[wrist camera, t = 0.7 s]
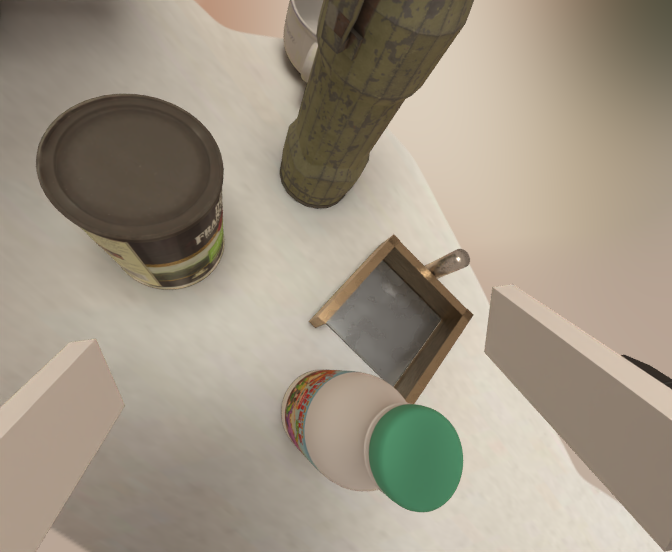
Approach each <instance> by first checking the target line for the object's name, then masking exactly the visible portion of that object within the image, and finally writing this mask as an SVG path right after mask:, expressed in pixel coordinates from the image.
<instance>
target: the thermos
mask: <svg viewBox="0 0 672 552" xmlns="http://www.w3.org/2000/svg"><path fill="white" fill-rule="evenodd" d="M473 2H474V0H323V4H322V7H321V11H320V15H319V19H318V25H317V33H316V37H317V43H318V47H317V51H316V54H315V58H314V61H313V65H312V68H311V72H310V75H309V79H308V82H307V86H306V89H305V93H304V96H303V100H302V103H301V107H300V110H299V114H298V117H297V119H296V120H295V121H294V122H293V123H292V124H291V125H290V126H289V129H288V133H287V137H286V140H285V144H284V148H283V154H282V161H281V167H280V177H281V182H282V184H283V186H284V188H285V189H286V191H287V193H288V194H289V195H290V196H291V197H292V198H293V199H294V200H296V201H297V202H299V203H301V204H303V205H305V206H307V207H312V208H317V209H318V208H328V207H330V206H333V205H335V204H337V203H338V202H339V201H340V200H341V199H342V198H343V197H344V196H345V194H346V193H347V192H348V191H349V190H350V189H351V188H352V186H353V185H354V184H355V182H356V181H357V179H358V178H359V177H360V175H361V173H362V172H363V170H364V168H365V166H366V164H367V162H368V160H369V153H370V151H371V150H372V148H373V147H374V145H375V144H376V142H377V141H378V139H379V138H380V136H381V135H382V133H383V132H384V130H385V129H386V127H387V126H388V124H389V123H390V121H391V120H392V118H393V117H394V115H395V114H396V112H397V111H398V109H399V108H400V106H401V105H402V103H403V102H404V100H405V99H406V98H408V97H410V96H412V95H413V94H414V93H415V92H416V91H417V90H418V89H419V88H420V87H421V86H422V85H423V84H424V82H425V80H426V79H427V78H428V76H429V75H430V74H431V72H432V70H433V69H434V68H435V66H436V65H437V64H438V62H439V60H440V59H441V58H442V56H443V54H444V53H445V52H446V51H447V49H448V48H449V46H450V45H451V43H452V42H453V40H454V39H455V38H456V36H457V35H458V33H459V32H460V30H461V29H462V28H463V26H464V25H465V23H466V20H467V18H468V15H469V13H470V10H471V7H472V4H473Z"/></svg>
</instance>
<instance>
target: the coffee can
mask: <svg viewBox="0 0 672 552" xmlns="http://www.w3.org/2000/svg"><path fill="white" fill-rule="evenodd" d="M36 168H37V174H38V179H39V182H40V185H41V187H42V189H43V191H44V193H45V195H46V196H47V198H48V199H49V200H50V202H51V203H52V204H53V205H54V207H55V208H56V209H57V210H58V211H59V212H61V213H62V214H63V215H64V216H65V217H66V218H68V219H69V220H70V221H72V222H73V223H75V224H76V225H78V226H79V227H80V228H81V229H82V230H84V231H85V232H86V233H87V234H88V235H89V236H90V238H92V239H93V240H94V241H95V242H96V243H97V244H98V245H99V246H100V247H101V248H103V249H104V250H105V251H106V252H107V253H108V254H109V255H110V256H111V257H112V258H113V259H114V260H115V261H116V262H117V263H118V264H119V265H120V266H121V267H122V269H123V270H124V271H125V272H126V273H127V274H128V275H129V276H130V277H132V278H133V279H135V280H136V281H138V282H140V283H142V284H144V285H147V286H150V287H154V288H158V289H179V288H184V287H187V286H190V285H193V284H195V283H197V282H199V281H201V280H203V279H204V278H205V277H207V276H208V275H209V274H210V273H211V272H212V271H213V270H214V269H215V267H216V266H217V265H218V263H219V261H220V259H221V256H222V254H223V250H224V234H223V210H222V207H223V206H222V184H223V172H224V168H223V161H222V156H221V153H220V150H219V147H218V145H217V143H216V142H215V140H214V138H213V136H212V135H211V133H210V132H209V131H208V130H207V128H206V127H205V126H204V125H203V124H202V123H201V122H200V121H198V120H197V119H196V118H195V117H194V116H192V115H191V114H190V113H188V112H187V111H185V110H183V109H182V108H180V107H178V106H176V105H174V104H172V103H169V102H167V101H164V100H161V99H158V98H154V97H149V96H145V95H137V94H112V95H104V96H100V97H96V98H92V99H89V100H86V101H83V102H81V103H79V104H77V105H75V106H73V107H71V108H70V109H68V110H66V111H65V112H64V113H62V114H61V115H60V116H58V117H57V118H56V119H55V120H54V121H53V122H52V123H51V125H50V126H49V127H48V128H47V130H46V132H45V133H44V135H43V137H42V139H41V141H40V143H39V146H38V151H37V157H36Z"/></svg>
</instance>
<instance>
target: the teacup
mask: <svg viewBox="0 0 672 552" xmlns="http://www.w3.org/2000/svg"><path fill="white" fill-rule="evenodd" d="M322 4H323V0H290V2H289V6H288V11H287V15H286V21H285V27H284V46H285V50H286V53H287V55H288V58H289V60H290V61H291V63H292V64H293V66H294V67H295V68H296V69H297V70H298V71H299V72H300V73H301V78H302V79H303V80H304V81H305V82H308V79H309V75H310V72H311V68H312V65H313V61H314V58H315V54H316V51H317V47H318V43H317V37H316V33H317V25H318V19H319V15H320V11H321V7H322Z"/></svg>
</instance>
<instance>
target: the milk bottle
mask: <svg viewBox="0 0 672 552" xmlns="http://www.w3.org/2000/svg"><path fill="white" fill-rule="evenodd" d="M281 416H282V423H283V426H284V429H285V431H286V433H287V435H288V436H289V438H290V439H291V441H292V442H293V443H294V444H295V445H296V447H297V448H298V449H299V450H300V451H301V452H302V453H303V455H304V456H305V457H306V458H307V459H308V460H309V461H310V462H311V463H312V464H313V465H314V466H315V468H316V469H317V470H319V471H320V472H321V473H322V474H323V475H324V476H325V477H327V478H328V479H329V480H331V481H332V482H334V483H336V484H337V485H339V486H341V487H344V488H347V489H350V490H355V491H374V490H378V489H379V490H380V491H381V492H383V493H384V494H386V495H387V496H388V497H389V498H390V499H391V500H392V501H394V502H395V503H397V504H398V505H400V506H401V507H403V508H405V509H407V510H410V511H415V512H429V511H433V510H435V509H437V508H439V507H441V506H442V505H444V504H445V503H446V502H447V501H448V500H449V499H450V498H451V497H452V495H453V494H454V492H455V490H456V489H457V486H458V484H459V482H460V478H461V475H462V469H463V452H462V446H461V442H460V439H459V437H458V434H457V432H456V430H455V429H454V427H453V426H452V424H451V423H450V422H449V421H448V420H447V419H446V418H445V417H444V416H443V415H442V414H440V413H439V412H437V411H436V410H434V409H431V408H428V407H425V406H421V405H415V404H411V403H407V402H406V401H405V399H404V398H403V397H402V395H401V394H400V393H399V392H398V391H397V390H396V389H395V388H394V387H393V386H391V385H390V384H389V383H387V382H386V381H384V380H382V379H380V378H378V377H376V376H373V375H370V374H366V373H361V372H354V371H340V370H315V371H310V372H307V373H305V374H303V375H301V376H300V377H299V378H297V379H296V380H295V381H294V382H293V383H292V384H291V386H290V387H289V388H288V390H287V392H286V394H285V396H284V399H283V403H282V410H281Z"/></svg>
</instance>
